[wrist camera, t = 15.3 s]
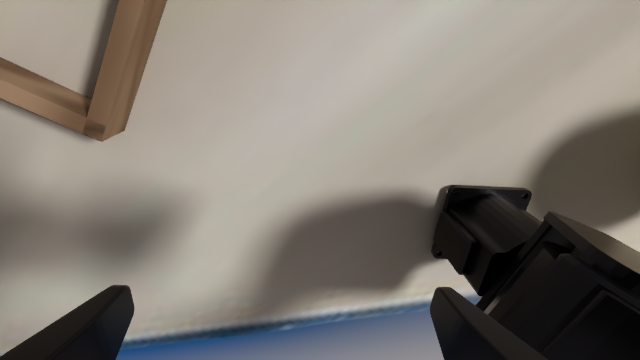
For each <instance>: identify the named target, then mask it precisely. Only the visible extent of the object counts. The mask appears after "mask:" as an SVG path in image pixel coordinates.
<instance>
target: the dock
mask: <svg viewBox="0 0 640 360" xmlns="http://www.w3.org/2000/svg"><path fill="white" fill-rule="evenodd" d="M166 1H167V0H119V2H118V6H117V10H116V13H115V17H114V20H113V24H112V28H111V31H110V35H109V39H108V42H107V46H106V50H105V53H104V57H103V61H102V64H101V68H100V71H99V75H98V79H97V82H96V86H95V90H94V93H93V97H92V100H91V99H89V98H87V97H85V96H83V95H81V94H79V93H76V92H74V91H72V90H70V89H68V88H66V87H63V86H61V85H59V84H57V83H55V82H53V81H50V80H48V79H46V78H44V77H42V76H40V75H38V74H35V73H33V72H31V71H29V70H27V69H25V68H22V67H20V66H18V65H16V64H14V63H12V62H9V61H7V60H5V59H3V58H1V57H0V98H1V99H4V100H6V101H8V102H11V103H13V104H15V105H18V106H20V107H22V108H24V109H27V110H29V111H31V112H34V113H36V114H38V115H41V116H43V117H45V118H48V119H50V120H52V121H55V122H57V123H59V124H61V125H64V126H66V127H68V128H71V129H73V130H75V131H78V132H80V133H82V134H85V135H87V136H89V137H92V138H94V139H96V140H98V141H101V142H102V141H104V140H106V139H108V138H110V137H112V136H114V135H116V134H118V133H120V132H122V131H124V130H125V127H126V124H127V121H128V118H129V115H130V112H131V109H132V106H133V103H134V100H135V96H136V93H137V90H138V87H139V84H140V81H141V78H142V75H143V72H144V69H145V66H146V63H147V60H148V57H149V53H150V50H151V47H152V44H153V41H154V38H155V35H156V32H157V29H158V26H159V23H160V20H161V17H162V14H163V11H164V7H165V4H166Z"/></svg>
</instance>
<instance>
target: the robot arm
mask: <svg viewBox="0 0 640 360" xmlns="http://www.w3.org/2000/svg"><path fill="white" fill-rule="evenodd" d="M455 191H458V192H457V193H456V194H454V192H455ZM524 194H525V195H524ZM523 195H524V196H523ZM522 196H523V197H522ZM531 196H532V193H531V192H530V191H529V190H527V189H525V188H507V187H484V186H461V185H455V186H452V187H451V188H450V189H449V190H448V193H447V197H446V200H445V204H444V208H443V211H442V212H441V214H440V217H439V221H438V224H437V228H436V231H435V235H434V243H433V247H432V250H431V253H432V254H433V256H434V257H435V258H437V259H448V260H449V262H450V263H451V264H452V266H453V267H454V269H455V270H456V271H457V273H458V274H459V275H464V276H465V278H466V279H467V280H468V282H469V283H470V284H471V286H472V287H473V289H474V290H475V291H476V293H477V294H478V295H479V296H482V298H481V299H480V300H479V301H478V303H477V304H476V305H474V304H472V303H471V302H470V301H468V300H467V299H466V298H464V297H463V296H461V295H460V294H459V293H457V292H456V291H455V290H453V289H452V288H450V287H438V288H436V290H435V292H434V296H433V299H432V302H431V305H430V314H431V318H432V320H433V324H434V327H435V331H436V334H437V337H438V340H439V344H440V347H441V350H442V354H443V357H444V360H640V253H639V252H638V251H636V250H634V249H632V248H631V247H629V246H627V245H625V244H623V243H622V242H620V241H618V240H616V239H615V238H613V237H611V236H609V235H607V234H605V233H603V232H601V231H598V230H596V229H593V228H591V227H588V226H586V225H584V224H581V223H579V222H576V221H574V220H571V219H569V218H567V217H564V216H562V215H559V214H557V213H554V212H552V211H549V212H548V213H547V214H546V216H545V217H544V219H545V220H544V221H543V222H541V221H539V220H538V219H536V218H535V217H534V216H532V215H531V214H529V213H528V212H527V211H526V209H527V206H528V204H529V201H530V199H531ZM438 251H440V252H439V253H437V252H438ZM133 314H134V303H133V299H132V294H131V290H130V287H129V286H127V285H112V286H110V287H108V288H107V289H105V290H104V291H102V292H100V293H99V294H97V295H96V296H94V297H93V298H91V299H89V300H88V301H86V302H85V303H83V304H82V305H80V306H79V307H77V308H75V309H74V310H72V311H71V312H69V313H68V314H66V315H64V316H63V317H61V318H60V319H58V320H57V321H55V322H54V323H52V324H50V325H49V326H47V327H46V328H44V329H43V330H41V331H39V332H38V333H36V334H35V335H33V336H32V337H30V338H29V339H27V340H25V341H24V342H22V343H21V344H19V345H18V346H16V347H14V348H13V349H11V350H10V351H8V352H7V353H5V354H4V355H2V356H0V360H116V357H117V355H118V352H119V350H120V347H121V345H122V342H123V340H124V337H125V335H126V332H127V330H128V327H129V325H130V322H131V320H132V317H133Z"/></svg>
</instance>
